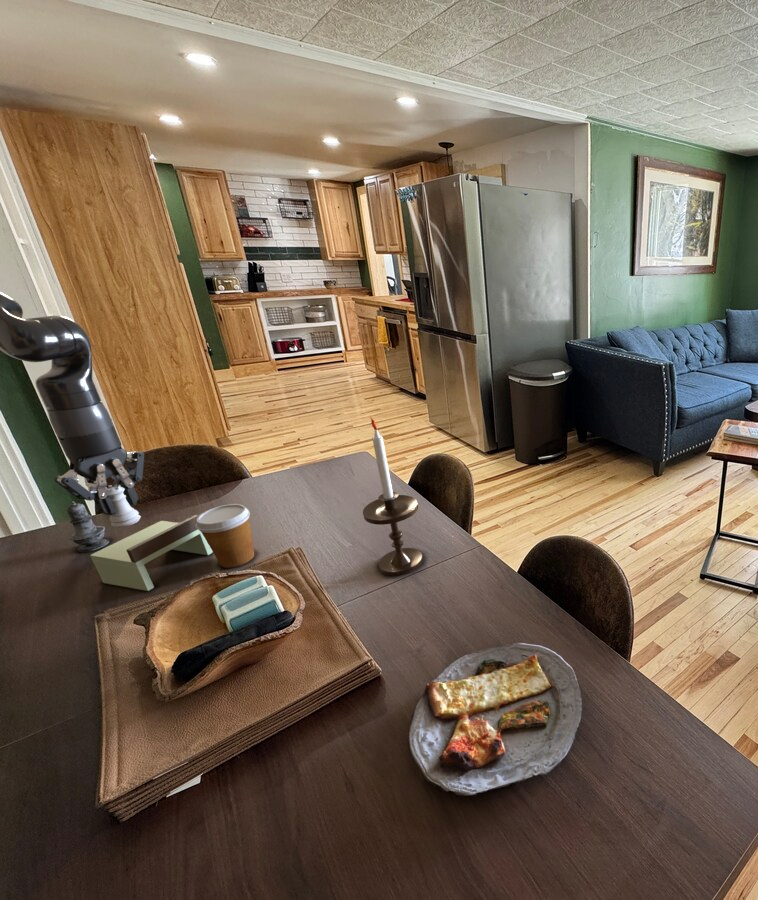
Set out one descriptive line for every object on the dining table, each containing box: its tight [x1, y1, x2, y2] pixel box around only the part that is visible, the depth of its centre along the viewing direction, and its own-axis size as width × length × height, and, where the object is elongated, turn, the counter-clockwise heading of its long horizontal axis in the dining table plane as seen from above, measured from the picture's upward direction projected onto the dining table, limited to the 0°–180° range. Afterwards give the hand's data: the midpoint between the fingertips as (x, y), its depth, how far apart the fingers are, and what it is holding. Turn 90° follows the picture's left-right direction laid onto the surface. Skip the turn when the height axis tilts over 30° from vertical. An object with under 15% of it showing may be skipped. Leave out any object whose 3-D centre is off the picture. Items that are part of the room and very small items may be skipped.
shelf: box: [89, 514, 214, 592], centre depth 103 cm, size 12×14×10 cm
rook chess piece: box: [105, 483, 142, 528], centre depth 94 cm, size 4×4×8 cm
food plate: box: [407, 641, 583, 797], centre depth 71 cm, size 25×23×4 cm
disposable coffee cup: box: [196, 503, 255, 568], centre depth 105 cm, size 10×10×12 cm
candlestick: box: [362, 416, 423, 577], centre depth 100 cm, size 11×11×35 cm
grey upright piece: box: [66, 500, 110, 553], centre depth 110 cm, size 6×6×12 cm
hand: (120, 508), depth 94 cm, fingers closed on rook chess piece, 3 cm apart
